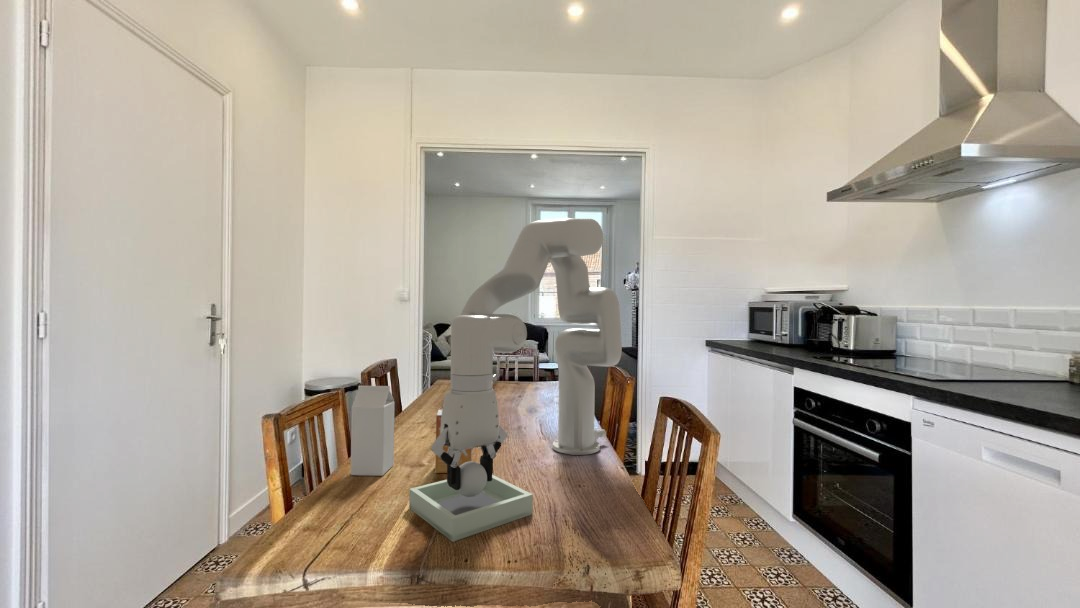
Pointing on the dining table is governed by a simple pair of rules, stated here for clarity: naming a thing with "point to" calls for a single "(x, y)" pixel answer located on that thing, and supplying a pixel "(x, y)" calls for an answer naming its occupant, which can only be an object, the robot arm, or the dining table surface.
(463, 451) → the small box
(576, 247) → the robot arm
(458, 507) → the felt pad
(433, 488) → the tray
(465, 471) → the ball
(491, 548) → the dining table surface
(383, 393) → the milk carton
